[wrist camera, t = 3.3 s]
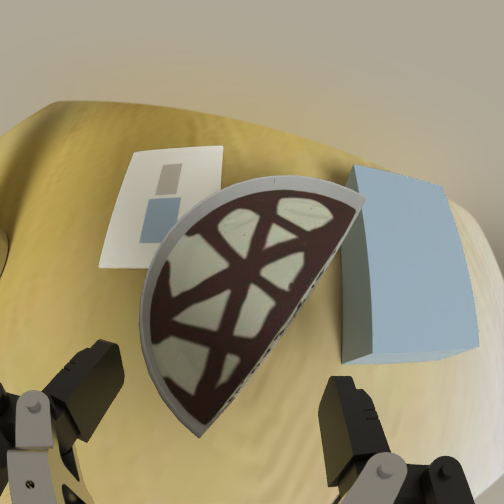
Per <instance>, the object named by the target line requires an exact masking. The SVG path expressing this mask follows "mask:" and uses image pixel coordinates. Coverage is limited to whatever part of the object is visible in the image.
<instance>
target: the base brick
mask: <svg viewBox="0 0 504 504" xmlns="http://www.w3.org/2000/svg"><path fill="white" fill-rule="evenodd" d="M345 187H347V188H349V189H352V190H354V191H355V192H357V193H359V194H361V195H363V196H365V197H367V199H366V201H365V203H364V205H363V207H362V209H361V211H360V212H359V214H358V216H357V218H356V219H355V221H354V223H353V225H352V226H351V228H350V230H349V232H348V233H347V235H346V237H345V239H344V240H343V242H342V244H341V261H342V290H343V337H342V364H391V363H410V362H424V361H435V360H441V359H444V358H447V357H450V356H453V355H456V354H459V353H462V352H465V351H468V350H471V349H473V348H476V347H479V336H478V326H477V317H476V310H475V303H474V297H473V291H472V286H471V281H470V276H469V272H468V267H467V263H466V259H465V255H464V251H463V247H462V244H461V240H460V237H459V233H458V230H457V227H456V224H455V220H454V217H453V215H452V212H451V209H450V206H449V203H448V200H447V198H446V195H445V193H444V190H443V188H442V187H441V186H439V185H435V184H432V183H429V182H425V181H422V180H418V179H414V178H411V177H407V176H403V175H399V174H395V173H391V172H387V171H383V170H378V169H374V168H369V167H364V166H360V165H355V164H354V165H353V167H352V170H351V172H350V175H349V177H348V180H347V182H346V185H345Z"/></svg>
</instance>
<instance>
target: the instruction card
mask: <svg viewBox="0 0 504 504" xmlns="http://www.w3.org/2000/svg"><path fill="white" fill-rule="evenodd" d="M223 148H224V146H201V147H183V148H170V149H158V150H148V151H139V152H134V154H133V157H132V159H131V162H130V164H129V167H128V169H127V172H126V175H125V177H124V180H123V183H122V186H121V189H120V192H119V195H118V198H117V201H116V204H115V207H114V210H113V213H112V217H111V220H110V223H109V227H108V230H107V234H106V238H105V242H104V245H103V249H102V253H101V258H100V262H99V266H98V267H99V268H134V269H148V268H149V266H150V264H151V261H152V259H153V257H154V254H155V252H156V250H157V249H158V247H159V245H160V244H161V242H162V241H163V239H164V238H165V236H166V235H167V233H168V232H169V230H170V229H171V228H172V227H173V226H174V225H175V224H176V223H177V221H178V220H179V219H180V218H181V217H182V216H183V215H184V214H185V213H187V212H188V211H189V210H190V209H191V208H193V207H194V206H195V205H196V204H197V203H199V202H200V201H202V200H204V199H205V198H207V197H208V196H210V195H212V194H213V193H215V192H217V191H219V190H221V176H222V161H223Z"/></svg>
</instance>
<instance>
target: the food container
mask: <svg viewBox="0 0 504 504" xmlns="http://www.w3.org/2000/svg"><path fill="white" fill-rule="evenodd" d="M366 199H367V197H365V196H363V195H361V194H359V193H357V192H355V191H354V190H352V189H349V188H347V187H344V186H341V185H339V184H336V183H333V182H330V181H326V180H322V179H317V178H313V177H304V176H296V175H276V176H267V177H260V178H254V179H250V180H246V181H243V182H239V183H236V184H233V185H231V186H228V187H226V188H224V189H221V190H219V191H217V192H215V193H213V194H212V195H210V196H208V197H207V198H205V199H204V200H202V201H200V202H199V203H197V204H196V205H195V206H194V207H193V208H191V209H190V210H189V211H188V212H187V213H185V214H184V215H183V216H182V217H181V218H180V219H179V220H178V221H177V223H176V224H175V225H174V226H173V227H172V228H171V229H170V230H169V232H168V233H167V235H166V236H165V238H164V239H163V241H162V242H161V244H160V245H159V247H158V249H157V250H156V252H155V254H154V257H153V259H152V261H151V264H150V266H149V268H148V271H147V274H146V278H145V282H144V286H143V290H142V295H141V300H140V313H139V331H140V339H141V348H142V352H143V356H144V359H145V362H146V366H147V369H148V372H149V375H150V377H151V379H152V381H153V383H154V385H155V387H156V389H157V391H158V393H159V394H160V396H161V398H162V400H163V401H164V402H165V404H166V405H167V406H168V408H169V409H170V410H171V411H172V413H173V414H174V415H175V416H176V418H177V419H178V420H179V421H180V422H181V423H182V424H183V425H184V426H185V427H186V428H187V429H189V430H190V431H191V432H192V433H193V434H194V435H195V436H197V437H198V438H200V437H201V436H202V435H203V434H204V432H205V431H206V430H207V429H208V428H209V427H210V426H211V425H212V424H213V423H214V422H215V420H216V419H217V418H218V417H219V416H220V415H221V414H222V413H223V411H224V410H225V409H226V408H227V407H228V406H229V405H230V403H231V402H232V401H233V400H234V399H235V397H236V396H237V395H238V394H239V392H240V391H241V390H242V389H243V387H244V386H245V385H246V383H247V382H248V381H249V380H250V378H251V377H252V376H253V374H254V373H255V372H256V370H257V369H258V368H259V367H260V365H261V364H262V363H263V361H264V360H265V359H266V357H267V356H268V354H269V353H270V352H271V350H272V349H273V348H274V346H275V345H276V343H277V342H278V341H279V339H280V338H281V337H282V335H283V334H284V332H285V331H286V329H287V328H288V327H289V325H290V324H291V322H292V321H293V319H294V318H295V316H296V315H297V314H298V312H299V311H300V309H301V308H302V306H303V305H304V303H305V302H306V300H307V299H308V297H309V296H310V294H311V293H312V291H313V289H314V288H315V286H316V285H317V283H318V282H319V280H320V278H321V277H322V275H323V274H324V272H325V270H326V269H327V267H328V266H329V264H330V262H331V261H332V259H333V257H334V256H335V254H336V252H337V251H338V249H339V247H340V246H341V244H342V242H343V240H344V239H345V237H346V235H347V233H348V232H349V230H350V228H351V226H352V225H353V223H354V221H355V219H356V218H357V216H358V214H359V212H360V211H361V209H362V207H363V205H364V203H365V201H366Z"/></svg>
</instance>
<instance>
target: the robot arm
mask: <svg viewBox="0 0 504 504" xmlns="http://www.w3.org/2000/svg"><path fill="white" fill-rule="evenodd" d="M7 252H8V238H7V235H6V233H5V231H4V230H3V229H2V228H1V227H0V275H1V272H2V270H3V267H4V264H5V261H6V257H7ZM124 376H125V375H124V369H123V364H122V360H121V355H120V350H119V346H118V345H117V344H115V343H112V342H108V341H105V340H102V339H99V340H98V341H96V343H95V344H94V345H93V346H92V347H91V348H86V349H84V350H82V351H80V352H78V353H77V354H76V355H75V356H74V357H73V358H72V359H71V360H70V362H68V363H67V364H66V365H65V366H64V369H62V370H61V371H60V372H59V373H58V374H57V375H56V376H55V377H54V378H53V379H52V380H51V382H50V383H49V384H48V385H47V386H46V387H45V388H44V389H43V390H42V391H41V392H40V391H36V390H32V391H27V392H25V393H23V394H22V395H21V396H18V395H14V394H10V393H7V392H6V391H5V390H4V388H3V386H2V384H1V383H0V496H1V494H2V492H3V490H4V488H5V487H6V485H7V483H8V481H9V488H10V495H11V501H12V504H95V503H94V501H93V499H92V497H91V495H90V493H89V492H88V490H87V488H86V486H85V483H84V480H83V476H82V472H81V469H80V464H79V460H78V456H77V451H76V447H75V444H74V442H75V441H76V439H77V438H78V439H80V440H82V441H84V442H86V443H88V441H89V439H90V438H91V436H92V434H93V433H94V431H95V429H96V428H97V426H98V424H99V423H100V421H101V419H102V418H103V416H104V415H105V413H106V411H107V410H108V408H109V407H110V405H111V403H112V402H113V400H114V399H115V397H116V395H117V394H118V392H119V391H120V389H121V388H122V386H123V383H124ZM318 418H319V425H320V432H321V438H322V445H323V452H324V460H325V467H326V475H327V483H328V487H336V486H338V488H339V494H338V495H337V496H336V498H335V499H334V500H333V502H332V503H331V504H475V503H474V500H473V497H472V494H471V491H470V488H469V485H468V482H467V480H466V477H465V474H464V472H463V469H462V466H461V464H460V463H459V462H458V461H457V460H456V459H455V458H453V457H450V456H441V457H438V458H437V459H435V460H434V461H433V462H432V463H431V464H430V465H414V464H406V463H405V461H404V460H403V459H402V458H401V457H400V456H398V455H396V454H394V453H391V451H390V449H389V446H388V443H387V440H386V437H385V434H384V431H383V428H382V426H381V423H380V420H379V419H378V415H377V412H376V411H375V407H374V404H373V401H372V399H371V397H370V396H369V395H368V394H367V393H366V392H365V391H364V390H363V389H356V387H355V384H354V381H353V379H352V377H351V376H331V377H330V378H329V380H328V383H327V386H326V389H325V391H324V394H323V397H322V399H321V402H320V405H319V411H318Z"/></svg>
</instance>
